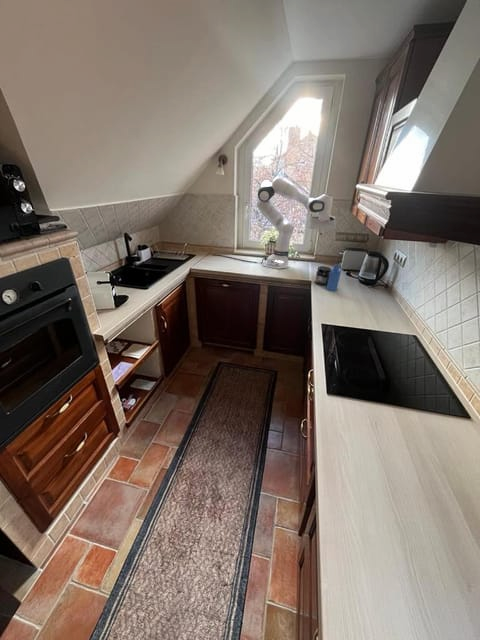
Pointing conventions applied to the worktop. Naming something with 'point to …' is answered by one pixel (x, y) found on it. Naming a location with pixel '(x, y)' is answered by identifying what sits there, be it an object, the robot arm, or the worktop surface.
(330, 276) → the blue bottle
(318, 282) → the supplement container
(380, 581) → the worktop surface
